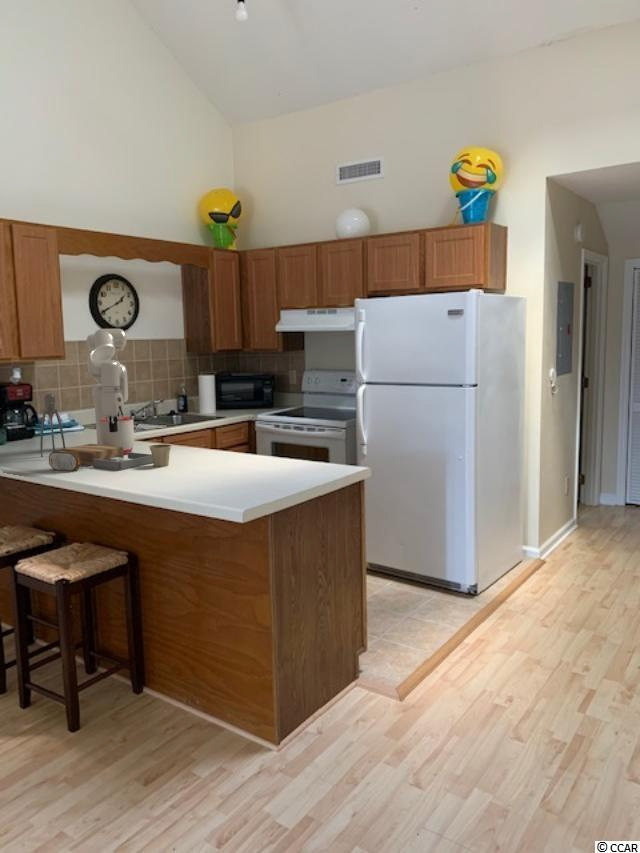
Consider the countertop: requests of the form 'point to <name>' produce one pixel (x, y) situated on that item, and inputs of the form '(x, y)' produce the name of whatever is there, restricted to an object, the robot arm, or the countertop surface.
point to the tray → (125, 462)
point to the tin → (64, 460)
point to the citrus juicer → (119, 434)
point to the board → (96, 452)
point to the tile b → (116, 459)
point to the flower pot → (160, 454)
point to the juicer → (50, 406)
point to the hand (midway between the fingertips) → (113, 431)
